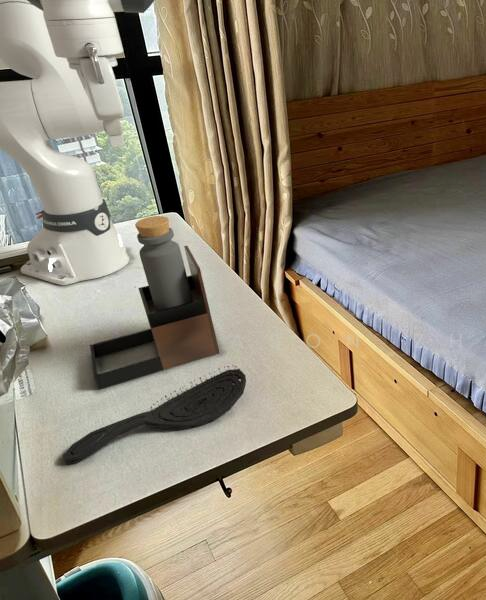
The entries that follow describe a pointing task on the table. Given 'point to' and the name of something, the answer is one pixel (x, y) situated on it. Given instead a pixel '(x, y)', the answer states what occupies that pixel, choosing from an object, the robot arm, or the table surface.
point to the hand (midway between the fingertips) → (114, 139)
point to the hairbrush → (171, 412)
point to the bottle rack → (164, 335)
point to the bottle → (162, 263)
